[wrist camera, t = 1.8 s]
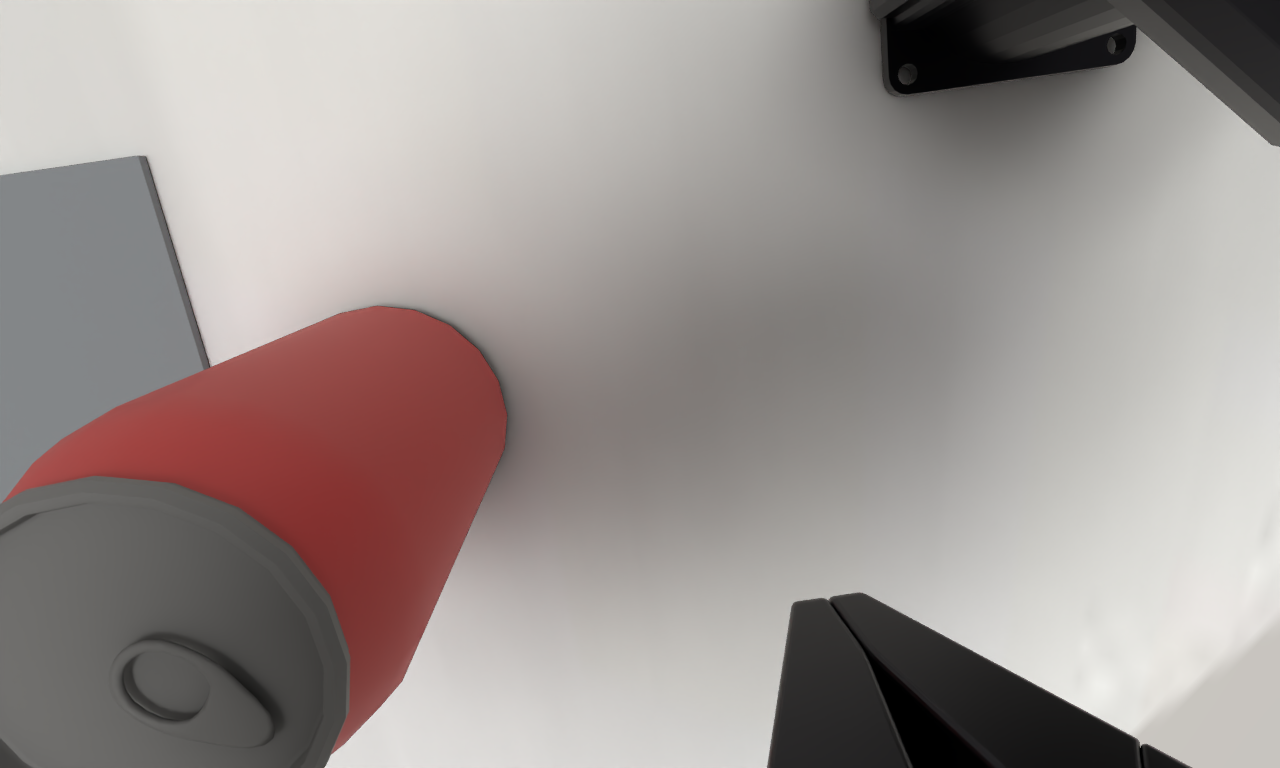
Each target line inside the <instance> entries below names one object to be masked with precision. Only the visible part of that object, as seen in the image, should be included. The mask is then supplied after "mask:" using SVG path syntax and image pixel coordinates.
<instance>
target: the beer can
mask: <svg viewBox="0 0 1280 768" xmlns="http://www.w3.org/2000/svg"><path fill="white" fill-rule="evenodd" d="M506 424H507V412H506V408H505V404H504V400H503V397H502V393H501V389H500V385H499V381H498V379H497V378H496V376H495V375H494V373H493V371H492V370H491V368H490V367H489V365H488V364H487V362H486V360H485V359H484V357H483V356H482V354H481V353H480V351H479V350H478V349H477V348H476V347H475V346H474V345H472V344H471V343H470V342H469V341H468V340H467V339H465V338H464V337H463V336H462V335H461V334H460V333H458V332H457V331H456V330H455V329H454V328H452V327H451V326H450V325H448V324H446V323H443V322H441V321H439V320H436V319H434V318H432V317H430V316H427V315H425V314H423V313H420V312H418V311H416V310H410V309H401V308H392V307H383V306H373V307H369V308H364V309H359V310H354V311H349V312H344V313H340V314H337V315H335V316H332V317H330V318H328V319H325V320H323V321H320V322H318V323H316V324H313V325H311V326H309V327H306V328H304V329H301V330H299V331H297V332H294V333H292V334H289V335H287V336H285V337H282V338H280V339H277V340H275V341H273V342H270V343H268V344H265V345H263V346H261V347H258V348H256V349H253V350H251V351H249V352H246V353H244V354H241V355H239V356H237V357H234V358H232V359H229V360H227V361H225V362H222V363H220V364H217V365H215V366H213V367H210V368H208V369H206V370H203V371H201V372H198V373H196V374H194V375H191V376H189V377H186V378H184V379H182V380H179V381H177V382H174V383H172V384H170V385H167V386H165V387H162V388H160V389H158V390H155V391H153V392H150V393H148V394H146V395H143V396H141V397H138V398H136V399H134V400H131V401H129V402H126V403H124V404H122V405H119V406H117V407H115V408H113V409H112V410H110V411H108V412H107V413H105V414H103V415H101V416H100V417H98V418H96V419H95V420H93V421H91V422H90V423H88V424H86V425H85V426H83V427H81V428H80V429H78V430H76V431H74V432H73V433H71V434H69V435H68V436H66V437H64V438H63V439H61V440H60V441H59V442H58V443H56V444H55V445H54V446H53V447H52V448H50V449H49V450H48V451H47V452H46V453H44V454H43V455H42V456H41V457H40V458H38V459H37V460H36V461H35V462H34V463H33V464H32V465H31V466H30V468H29V469H28V470H27V471H26V473H25V474H24V475H23V477H22V478H21V479H20V480H19V482H18V483H17V484H16V486H15V487H14V488H13V490H12V491H11V492H10V493H9V495H8V496H7V497H6V499H5V500H4V501H3V502H2V503H1V504H0V768H324V767H325V766H326V764H327V762H328V760H329V758H330V755H331V754H332V753H334V752H335V751H336V750H337V749H339V748H340V747H341V746H342V745H344V744H345V743H346V742H347V741H348V739H349V738H350V737H351V736H352V735H353V734H354V733H355V732H356V731H357V730H358V729H359V728H360V727H361V726H362V725H363V724H364V723H365V722H366V721H367V720H368V719H369V718H370V717H371V716H372V715H373V714H374V713H375V712H376V711H377V709H378V708H379V707H380V706H381V705H382V704H383V703H384V702H385V701H386V699H387V698H388V697H389V696H390V695H391V694H392V692H393V691H394V690H395V689H396V688H397V687H398V685H399V684H400V683H401V682H402V680H403V678H404V676H405V674H406V671H407V669H408V667H409V665H410V662H411V660H412V658H413V655H414V653H415V651H416V649H417V646H418V644H419V642H420V640H421V637H422V635H423V633H424V630H425V628H426V626H427V624H428V621H429V619H430V617H431V615H432V612H433V610H434V608H435V605H436V603H437V601H438V599H439V596H440V594H441V592H442V590H443V587H444V585H445V583H446V580H447V578H448V576H449V574H450V571H451V569H452V567H453V565H454V562H455V560H456V558H457V555H458V553H459V551H460V549H461V546H462V544H463V542H464V540H465V537H466V535H467V533H468V530H469V528H470V526H471V524H472V521H473V519H474V517H475V515H476V512H477V510H478V508H479V505H480V503H481V501H482V499H483V496H484V494H485V492H486V490H487V487H488V485H489V483H490V480H491V478H492V476H493V474H494V471H495V469H496V467H497V465H498V462H499V460H500V458H501V455H502V453H503V451H504V449H505V437H506Z"/></svg>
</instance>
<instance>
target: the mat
mask: <svg viewBox="0 0 1280 768" xmlns="http://www.w3.org/2000/svg"><path fill="white" fill-rule="evenodd" d="M208 368H210V367H209V364H208V361H207V357H206V354H205V351H204V348H203V344H202V341H201V338H200V334H199V331H198V328H197V325H196V321H195V318H194V315H193V311H192V308H191V305H190V302H189V298H188V295H187V292H186V288H185V285H184V282H183V279H182V275H181V272H180V269H179V265H178V262H177V259H176V256H175V252H174V249H173V246H172V242H171V239H170V236H169V233H168V229H167V226H166V223H165V219H164V216H163V213H162V210H161V206H160V203H159V200H158V196H157V193H156V190H155V187H154V183H153V180H152V177H151V173H150V170H149V167H148V164H147V160H146V157H145V156H132V157H125V158H118V159H112V160H105V161H98V162H91V163H84V164H77V165H70V166H63V167H56V168H49V169H42V170H35V171H28V172H21V173H14V174H7V175H0V504H1V503H2V502H3V501H4V500H5V499H6V497H7V496H8V495H9V493H10V492H11V491H12V490H13V488H14V487H15V486H16V484H17V483H18V482H19V480H20V479H21V478H22V477H23V475H24V474H25V473H26V471H27V470H28V469H29V468H30V466H31V465H32V464H33V463H34V462H35V461H36V460H37V459H38V458H40V457H41V456H42V455H43V454H44V453H46V452H47V451H48V450H49V449H50V448H52V447H53V446H54V445H55V444H56V443H58V442H59V441H60V440H61V439H63V438H64V437H66V436H68V435H69V434H71V433H73V432H74V431H76V430H78V429H80V428H81V427H83V426H85V425H86V424H88V423H90V422H91V421H93V420H95V419H96V418H98V417H100V416H101V415H103V414H105V413H107V412H108V411H110V410H112V409H113V408H115V407H117V406H119V405H122V404H124V403H126V402H129V401H131V400H134V399H136V398H138V397H141V396H143V395H146V394H148V393H150V392H153V391H155V390H158V389H160V388H162V387H165V386H167V385H170V384H172V383H174V382H177V381H179V380H182V379H184V378H186V377H189V376H191V375H194V374H196V373H198V372H201V371H203V370H206V369H208Z"/></svg>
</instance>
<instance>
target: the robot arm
mask: <svg viewBox="0 0 1280 768" xmlns="http://www.w3.org/2000/svg"><path fill="white" fill-rule="evenodd" d="M870 11H871V12H872V13H873V14H874V16H875V17H876V18H877V19H880V23H881V44H882V66H883V81H884V85H885V88H886V89H887V90H888V92H889V93H891V94H892V95H894V96H899V97H904V96H911V95H918V94H925V93H932V92H939V91H946V90H953V89H960V88H967V87H973V86H980V85H987V84H994V83H1001V82H1008V81H1015V80H1022V79H1029V78H1036V77H1043V76H1050V75H1057V74H1064V73H1071V72H1078V71H1085V70H1092V69H1098V68H1105V67H1109V66H1113V65H1117V64H1119V63H1122V62H1124V61H1125V60H1126V59H1128V58H1129V57H1130V55H1131V54H1132V52H1133V50H1134V47H1135V43H1136V26H1137V27H1138V28H1139V29H1140V30H1141V31H1142V32H1143V33H1145V34H1146V35H1147V36H1148V37H1149V38H1150V39H1151V40H1153V41H1154V42H1155V43H1156V44H1157V45H1158V46H1159V47H1161V48H1162V49H1163V50H1164V51H1165V52H1166V53H1167V54H1168V55H1170V56H1171V57H1172V58H1173V59H1174V60H1175V61H1176V62H1178V63H1179V64H1180V65H1181V66H1182V67H1183V68H1184V69H1186V70H1187V71H1188V72H1189V73H1190V74H1191V75H1192V76H1194V77H1195V78H1196V79H1197V80H1198V81H1199V82H1200V83H1202V84H1203V85H1204V86H1205V87H1206V88H1207V89H1208V90H1210V91H1211V92H1212V93H1213V94H1214V95H1215V96H1216V97H1218V98H1219V99H1220V100H1221V101H1222V102H1223V103H1224V104H1225V105H1227V106H1228V107H1229V108H1230V109H1231V110H1232V111H1233V112H1235V113H1236V114H1237V115H1238V116H1239V117H1240V118H1241V119H1243V120H1244V121H1245V122H1246V123H1247V124H1248V125H1249V126H1251V127H1252V128H1253V129H1254V130H1255V131H1256V132H1257V133H1259V134H1260V135H1261V136H1262V137H1263V138H1264V139H1265V140H1267V141H1268V142H1269V143H1270V144H1271V145H1274V146H1279V147H1280V0H870ZM1110 37H1112V38H1113V39H1114V40H1115V43H1116V48H1115V52H1114V53H1113V54H1111V53H1110V52H1109V51H1108V48H1107V43H1108V40H1109V39H1110ZM902 66H903V67H907V68H908V69H909V70H910V72H911V80H910V82H909V83H908V84H907V85H906V84H902V83H901V82H900V81H899V78H898V73H899V69H900V68H901V67H902ZM767 768H1192V767H1190V766H1188V765H1186V764H1184V763H1182V762H1180V761H1178V760H1177V759H1175V758H1173V757H1171V756H1169V755H1167V754H1165V753H1163V752H1161V751H1160V750H1158V749H1156V748H1154V747H1152V746H1150V745H1148V744H1143V745H1142V746H1141V748H1140V742H1139V741H1138V739H1137V738H1135V737H1133V736H1131V735H1129V734H1127V733H1125V732H1124V731H1122V730H1120V729H1118V728H1116V727H1114V726H1112V725H1110V724H1109V723H1107V722H1105V721H1103V720H1101V719H1099V718H1097V717H1095V716H1094V715H1092V714H1090V713H1088V712H1086V711H1084V710H1082V709H1080V708H1079V707H1077V706H1075V705H1073V704H1071V703H1069V702H1067V701H1065V700H1064V699H1062V698H1060V697H1058V696H1056V695H1054V694H1052V693H1050V692H1049V691H1047V690H1045V689H1043V688H1041V687H1039V686H1037V685H1035V684H1033V683H1032V682H1030V681H1028V680H1026V679H1024V678H1022V677H1020V676H1018V675H1017V674H1015V673H1013V672H1011V671H1009V670H1007V669H1005V668H1003V667H1002V666H1000V665H998V664H996V663H994V662H992V661H990V660H988V659H987V658H985V657H983V656H981V655H979V654H977V653H975V652H973V651H972V650H970V649H968V648H966V647H964V646H962V645H960V644H958V643H957V642H955V641H953V640H951V639H949V638H947V637H945V636H943V635H942V634H940V633H938V632H936V631H934V630H932V629H930V628H928V627H927V626H925V625H923V624H921V623H919V622H917V621H915V620H913V619H912V618H910V617H908V616H906V615H904V614H902V613H900V612H898V611H896V610H895V609H893V608H891V607H889V606H887V605H885V604H883V603H881V602H880V601H878V600H876V599H874V598H872V597H870V596H868V595H866V594H864V593H852V594H845V595H839V596H833V597H831V598H830V599H829V600H827V599H825V598H818V599H811V600H804V601H797V602H794V603H793V605H792V607H791V613H790V620H789V627H788V633H787V640H786V646H785V653H784V660H783V666H782V673H781V679H780V686H779V693H778V699H777V706H776V712H775V719H774V726H773V732H772V739H771V745H770V752H769V759H768V765H767Z"/></svg>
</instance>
